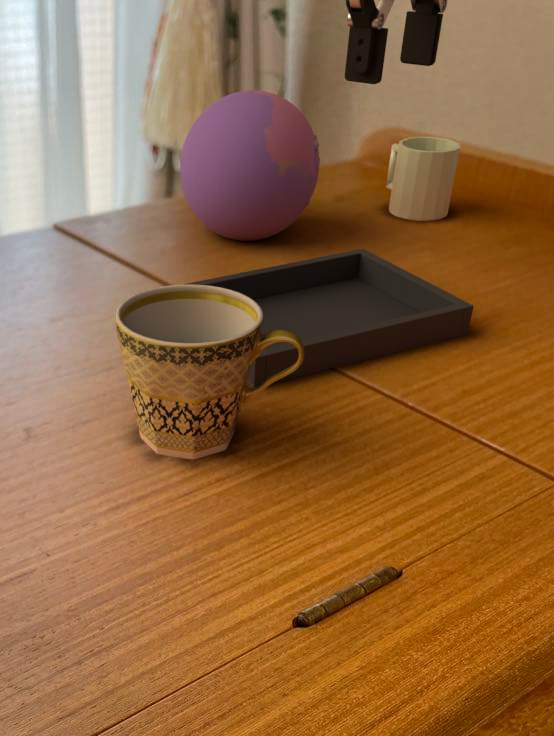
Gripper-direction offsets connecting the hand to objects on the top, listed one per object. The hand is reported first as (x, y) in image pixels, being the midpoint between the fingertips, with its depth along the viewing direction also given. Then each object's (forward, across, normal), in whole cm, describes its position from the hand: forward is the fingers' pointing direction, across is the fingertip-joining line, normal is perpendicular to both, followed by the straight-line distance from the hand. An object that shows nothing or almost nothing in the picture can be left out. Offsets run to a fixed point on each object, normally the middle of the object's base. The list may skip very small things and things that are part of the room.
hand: (390, 72), depth 76 cm
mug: (+19, +24, +7) cm, 31 cm away
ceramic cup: (+19, -34, -6) cm, 39 cm away
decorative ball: (+19, +4, +17) cm, 26 cm away
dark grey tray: (+19, -12, -2) cm, 22 cm away
